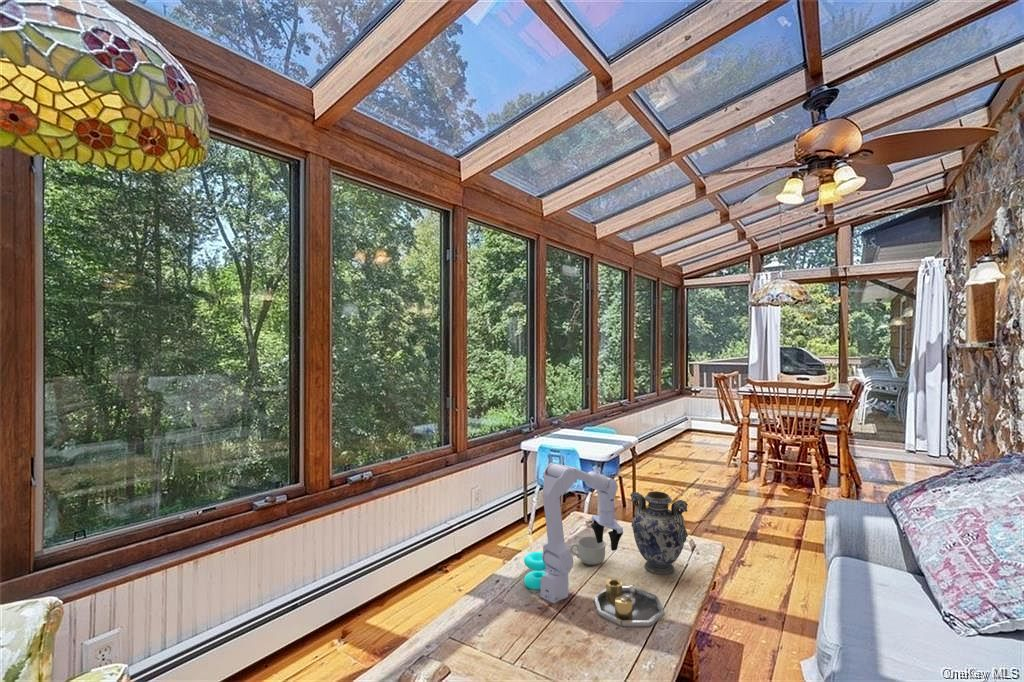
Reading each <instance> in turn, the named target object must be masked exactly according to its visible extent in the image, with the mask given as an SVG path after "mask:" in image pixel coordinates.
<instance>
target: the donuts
mask: <svg viewBox="0 0 1024 682" xmlns="http://www.w3.org/2000/svg"><path fill="white" fill-rule="evenodd" d="M542 555H543V551H532V552H530V553H527V554H526V555H525V557H524V559H523V562H524V565H525V567H526V568H527V569H528V570H532V571H529V572H528V573H527V574H526V575H524V580H523V581H524V585H525V586H526V587H527V588H528V589H530V590H534V589H535V590H541V583H540V582H541V578H542V577H543V576H544V575H545V574H546V572H547V568H546V564H544V563H543V560H542ZM545 570H546V571H545Z"/></svg>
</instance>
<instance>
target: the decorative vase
mask: <svg viewBox="0 0 1024 682" xmlns="http://www.w3.org/2000/svg"><path fill="white" fill-rule="evenodd" d="M629 496H630V499H631V500H630V503H631V502H632V503H633V504H634V505H635V508H634V516H633V519H632V522H631V528H632V532H633V537H634V540H635V543H636V547H637V549H638V551H639V553H640V555H641V556H642V558H644V560H646V561H645V563H644V568H645V569H646V570H647V572H649V573H651V574H655V575H661V576H663V575H664V576H665V575H671V574H672V573H674V571H675V568H674V565H673V563H674V562H676V561H677V560H678V558H679V557H680V556H681V553H682V551H683V548H684V545H685V543H686V542H687V537H689V533H688V531H687V529H686V526H685V518H684V516H683V513H684V512H685V513H687V512H688V505H689V504H688V503H687V501H686V500H683V499H678V500H675V501H673V500H672V497H670V495H669V494H667V493H666V492H662V491H650V492H648V493H647V494H646V495H645V496H644V495H643V494H641V493H639V492H638V491H634V492H633V491H632V492H631V493H630V494H629ZM647 503H648V504H647ZM670 503H671V507H670V506H669V504H670ZM669 507H670V508H671V509H669Z"/></svg>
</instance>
